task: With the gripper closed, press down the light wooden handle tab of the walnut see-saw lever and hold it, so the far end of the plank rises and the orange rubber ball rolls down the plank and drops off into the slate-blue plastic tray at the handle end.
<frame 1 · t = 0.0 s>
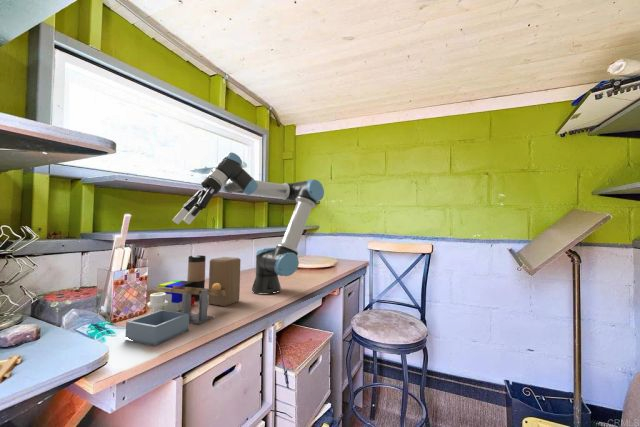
hand: (180, 222, 103), 36 cm above the counter, tool tilted 35°, fingers open, 13 cm apart
tray: (158, 335, 84), on the counter
stand: (194, 319, 99), on the counter
ball: (216, 287, 110), point 9 cm above the counter, tilted 8°, touching lever
block: (224, 303, 121), on the counter
travel mug: (195, 298, 127), on the counter
puzzle toy: (176, 307, 114), on the counter
lever: (193, 289, 103), point 10 cm above the counter, hinge at -15.0°, touching ball
pipe fitting: (156, 315, 103), on the counter
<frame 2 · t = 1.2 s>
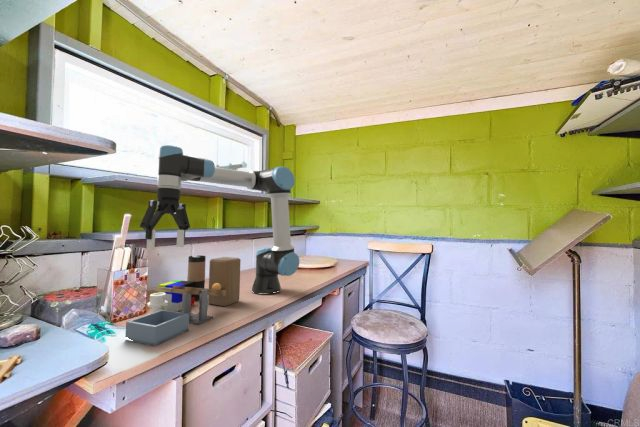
hand: (166, 248, 96), 27 cm above the counter, tool pointing down, fingers open, 12 cm apart
nothing on the counter moved.
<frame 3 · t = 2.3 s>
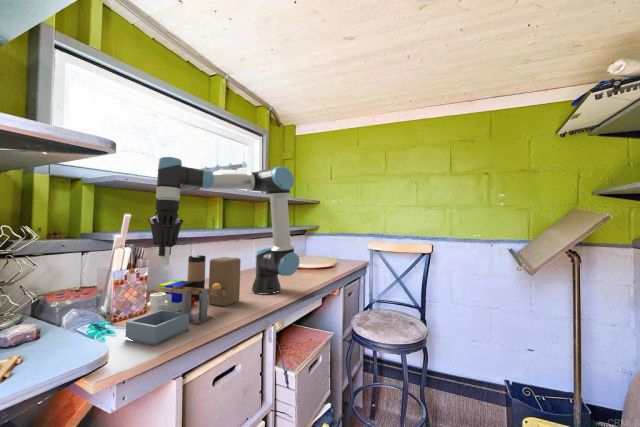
hand: (164, 265, 96), 20 cm above the counter, tool pointing down, fingers closed
nothing on the counter moved.
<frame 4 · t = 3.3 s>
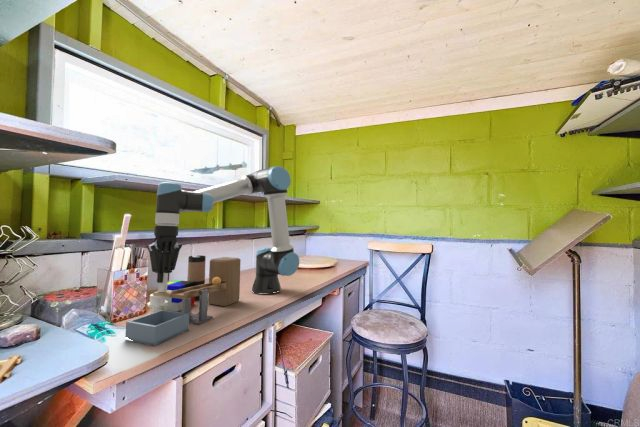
hand: (162, 291, 95), 11 cm above the counter, tool pointing down, fingers closed
ball: (216, 281, 110), point 12 cm above the counter, tilted 6°, touching lever
lever: (193, 287, 103), point 11 cm above the counter, hinge at -2.4°, touching ball, gripper
everything else where it was.
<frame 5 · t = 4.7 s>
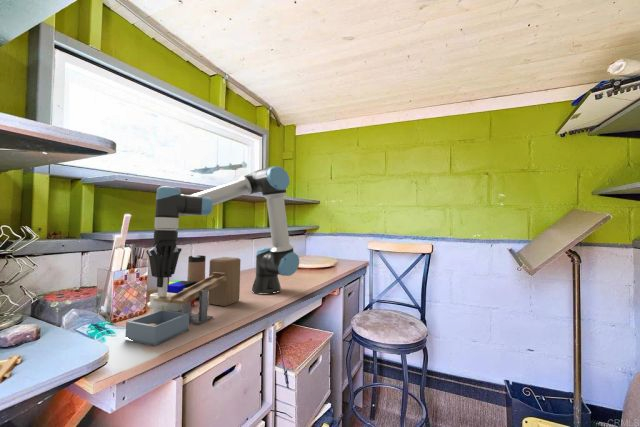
hand: (162, 295, 95), 10 cm above the counter, tool pointing down, fingers closed
ball: (151, 329, 82), point 3 cm above the counter, tilted 75°, touching tray
lever: (192, 286, 103), point 11 cm above the counter, hinge at 11.1°, touching gripper
everything else where it was.
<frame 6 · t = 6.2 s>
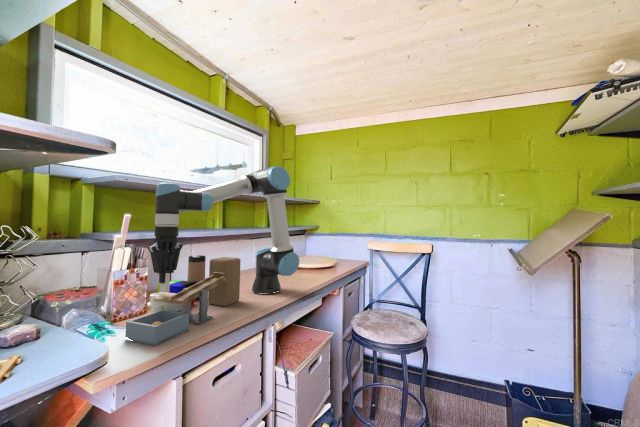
hand: (164, 291, 96), 11 cm above the counter, tool pointing down, fingers closed
ball: (156, 327, 84), point 3 cm above the counter, tilted 135°, touching tray
lever: (192, 286, 103), point 11 cm above the counter, hinge at 11.2°
everything else where it was.
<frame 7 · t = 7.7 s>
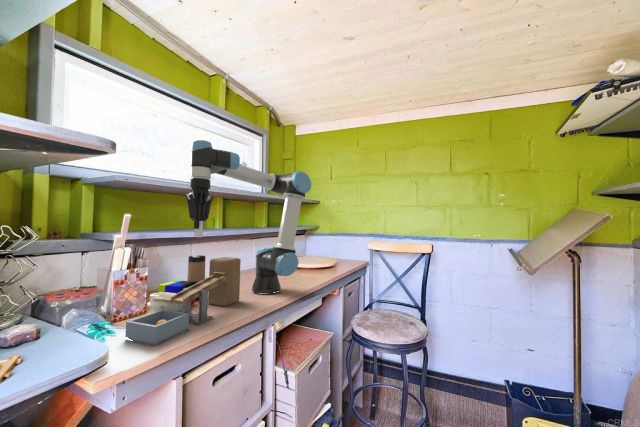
hand: (198, 237, 107), 30 cm above the counter, tool pointing down, fingers closed
ball: (161, 325, 86), point 3 cm above the counter, tilted 166°, touching tray
everything else where it was.
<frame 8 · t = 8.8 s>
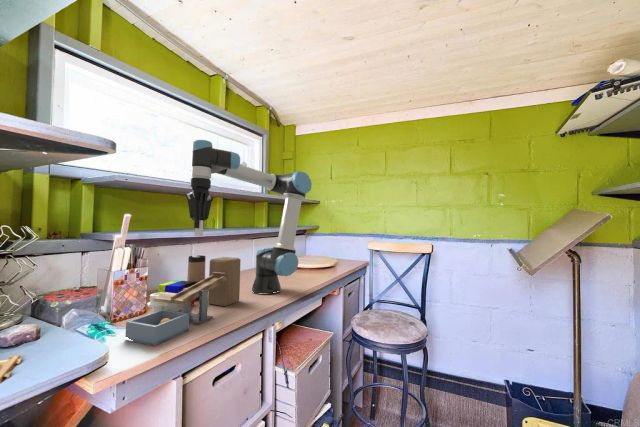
hand: (198, 236, 107), 30 cm above the counter, tool pointing down, fingers closed
ball: (165, 324, 87), point 3 cm above the counter, tilted 122°, touching tray
everything else where it was.
at the end: ball inside the target area on the tray (2.8 cm from its centre), point 2.6 cm above the tray's base; ball point 2.6 cm above the counter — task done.
